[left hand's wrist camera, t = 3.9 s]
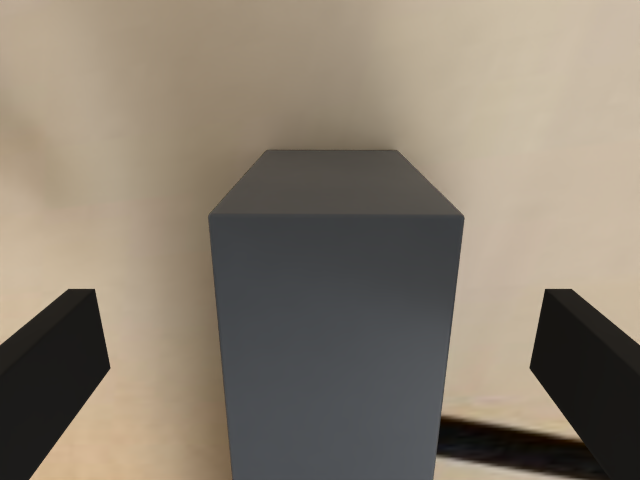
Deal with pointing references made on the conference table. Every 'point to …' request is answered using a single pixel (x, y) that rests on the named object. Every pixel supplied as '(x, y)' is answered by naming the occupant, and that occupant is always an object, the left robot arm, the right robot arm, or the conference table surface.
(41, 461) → the left robot arm
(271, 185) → the post
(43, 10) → the conference table surface
